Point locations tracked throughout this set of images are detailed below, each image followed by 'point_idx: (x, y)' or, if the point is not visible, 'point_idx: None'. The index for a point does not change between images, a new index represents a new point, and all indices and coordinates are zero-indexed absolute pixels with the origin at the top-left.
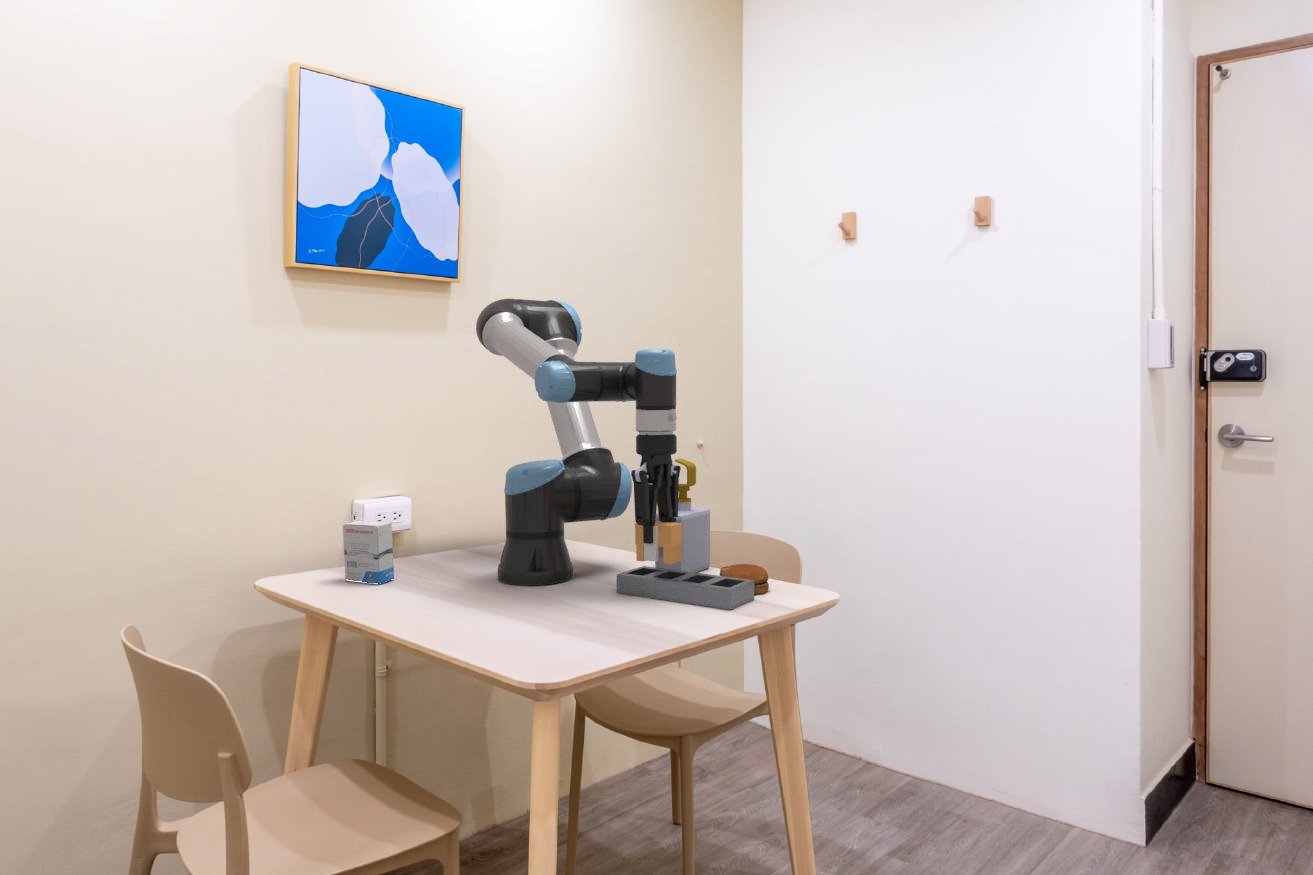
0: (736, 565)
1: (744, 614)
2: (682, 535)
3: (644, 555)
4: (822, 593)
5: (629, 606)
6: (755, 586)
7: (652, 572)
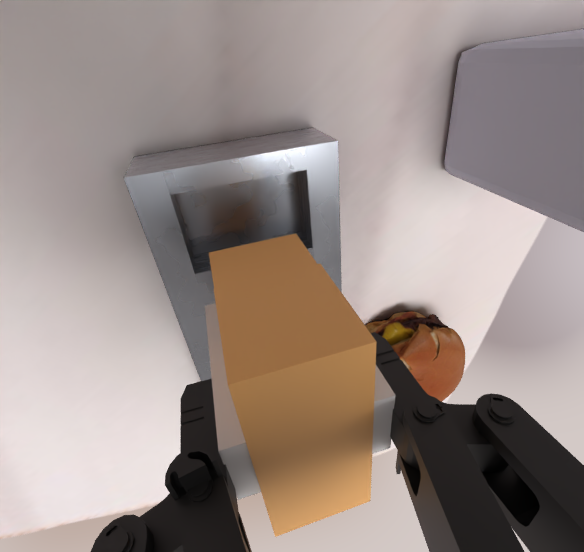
0: (429, 373)
1: None
2: (574, 226)
3: (207, 320)
4: None
5: (55, 316)
6: None
7: (305, 207)
